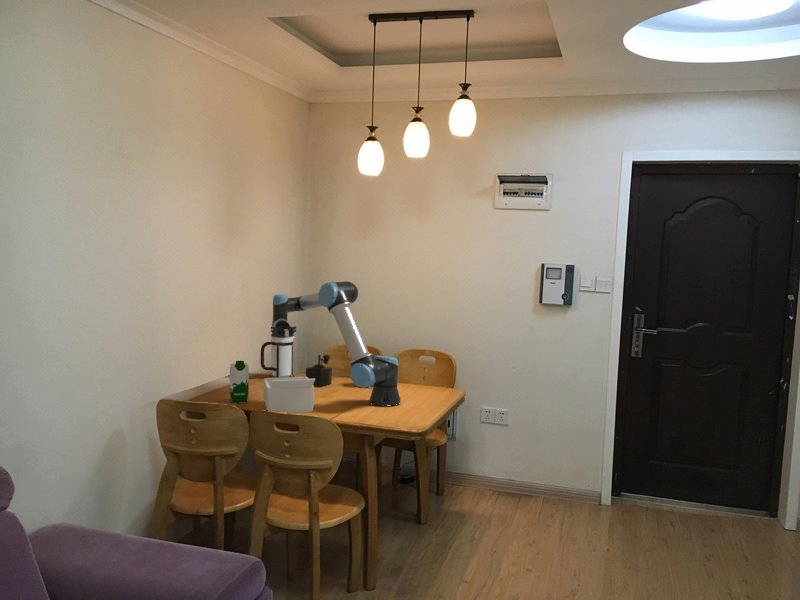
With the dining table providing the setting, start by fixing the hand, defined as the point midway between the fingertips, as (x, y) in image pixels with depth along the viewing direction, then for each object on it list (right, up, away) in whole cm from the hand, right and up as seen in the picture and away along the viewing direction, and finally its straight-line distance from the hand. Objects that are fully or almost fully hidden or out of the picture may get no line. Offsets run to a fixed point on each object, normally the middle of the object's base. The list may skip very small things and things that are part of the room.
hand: (287, 333), depth 316 cm
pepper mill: (+11, -31, +45) cm, 56 cm away
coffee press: (-15, -28, +62) cm, 69 cm away
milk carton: (-24, -33, +6) cm, 42 cm away
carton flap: (+6, -21, -19) cm, 29 cm away
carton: (+1, -34, -3) cm, 35 cm away
